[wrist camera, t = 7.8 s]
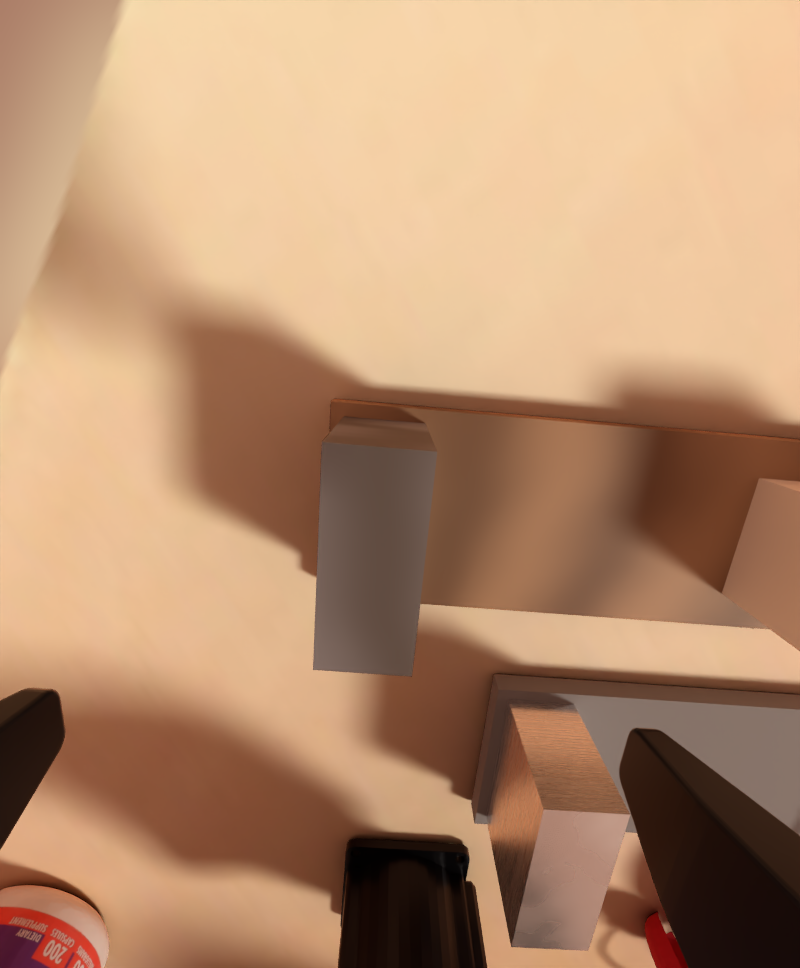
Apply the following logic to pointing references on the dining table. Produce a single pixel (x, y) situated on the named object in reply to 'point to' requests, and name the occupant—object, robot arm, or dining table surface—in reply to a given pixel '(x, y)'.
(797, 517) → the cream block
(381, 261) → the dining table surface
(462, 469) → the walnut strip
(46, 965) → the pill bottle
